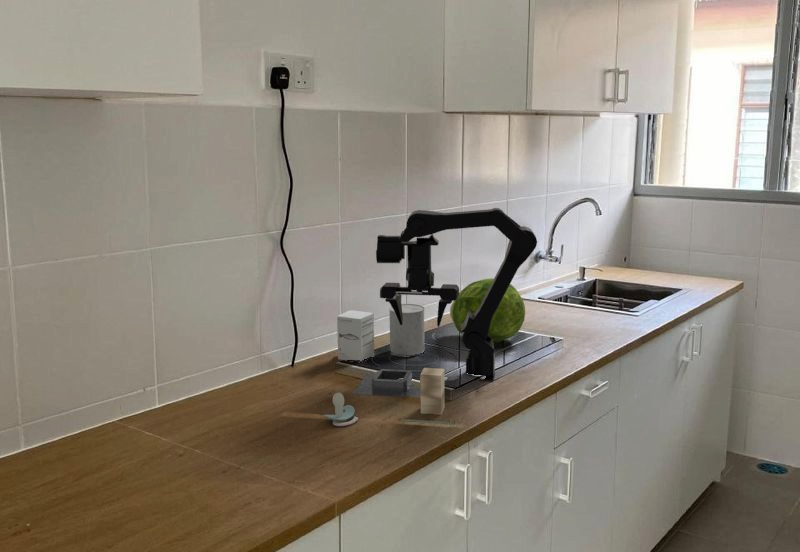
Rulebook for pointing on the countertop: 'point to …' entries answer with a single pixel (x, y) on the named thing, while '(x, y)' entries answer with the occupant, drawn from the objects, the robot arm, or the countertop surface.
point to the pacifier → (339, 414)
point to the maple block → (432, 391)
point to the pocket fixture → (389, 384)
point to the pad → (428, 421)
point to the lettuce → (504, 318)
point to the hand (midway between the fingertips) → (420, 325)
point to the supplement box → (355, 335)
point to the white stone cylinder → (407, 330)
